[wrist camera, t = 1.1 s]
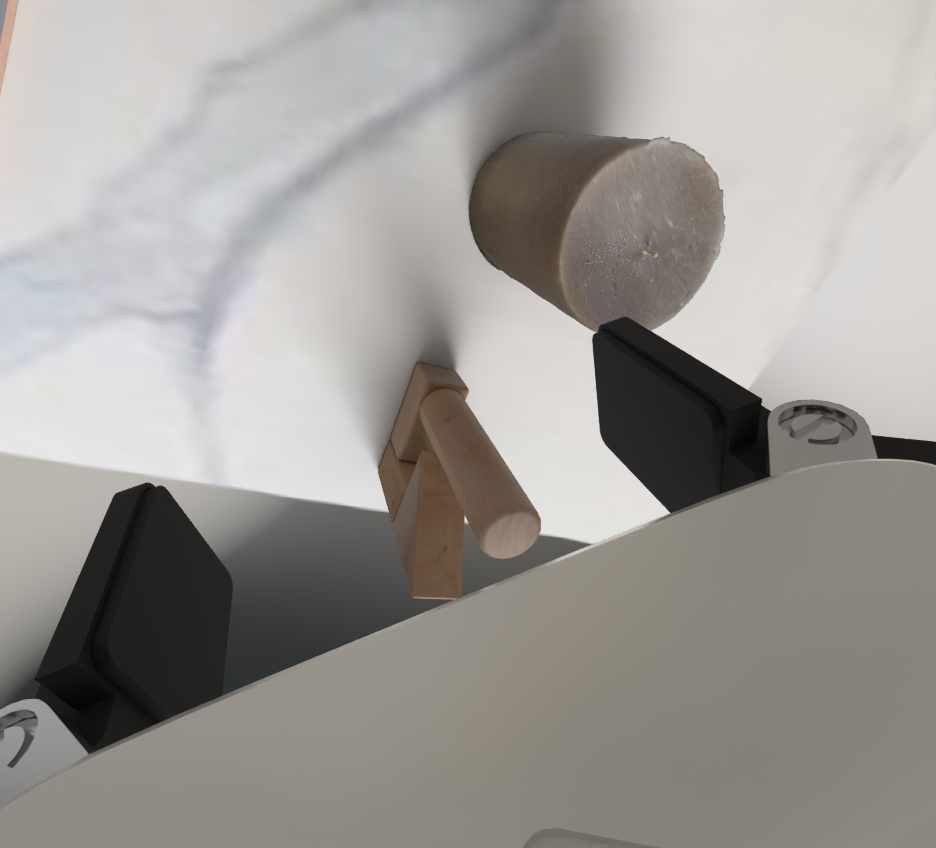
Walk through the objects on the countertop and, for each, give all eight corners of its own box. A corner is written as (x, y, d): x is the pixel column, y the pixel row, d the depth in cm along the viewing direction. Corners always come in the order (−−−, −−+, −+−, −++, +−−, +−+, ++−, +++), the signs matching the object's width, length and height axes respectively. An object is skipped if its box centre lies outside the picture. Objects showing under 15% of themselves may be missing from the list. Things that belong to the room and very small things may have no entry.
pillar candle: (478, 288, 39) (574, 370, 27) (458, 143, 34) (567, 163, 21) (593, 258, 41) (732, 322, 29) (592, 116, 35) (762, 120, 23)
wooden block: (375, 472, 44) (424, 650, 30) (415, 359, 40) (495, 502, 26) (415, 478, 46) (480, 650, 31) (458, 370, 42) (555, 510, 27)
